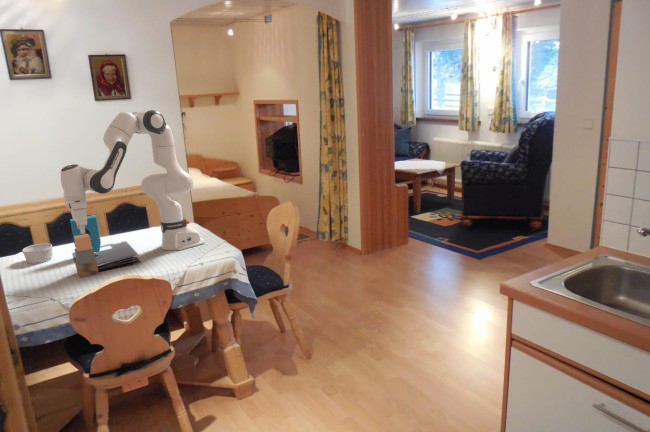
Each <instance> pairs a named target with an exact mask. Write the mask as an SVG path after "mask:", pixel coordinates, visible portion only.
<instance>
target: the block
mask: <svg viewBox="0 0 650 432" xmlns="http://www.w3.org/2000/svg"><path fill="white" fill-rule="evenodd" d="M69 221H70V227H71V231H72V233H71V234H72V238H73V243H74V248H76V245H75V239H74V236H78V235H84V234H81V233H80V229H78V228H77V225H76V222H75V220H74V219H73V218H70V219H69ZM85 230H87V231H88V232H89V233H88V234H89V236H90V239H91V245H92V248H93V249H94V252H99V251H100V252H101V244H102V240H101V235H100V234H101V233H100V230H99V223H98V218H97V215H95V214H94V215H87V225H85Z"/></svg>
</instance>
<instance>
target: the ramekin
mask: <svg viewBox="0 0 650 432" xmlns="http://www.w3.org/2000/svg"><path fill="white" fill-rule="evenodd" d="M22 254H23V255H24V258H25V261H26V262H27V263H28V264H31V265H32V264H33V265H35V264H36V265H37V264H42V263H46V262H49V261H51V260H52V258H53V244H52V243H48V242H47V243H43V242H42V243H37V244H31V245H29V246H26V247H24V248H23V249H22Z"/></svg>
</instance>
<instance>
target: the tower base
mask: <svg viewBox="0 0 650 432" xmlns="http://www.w3.org/2000/svg"><path fill="white" fill-rule="evenodd" d="M75 268H76V273H77V275H78V277H79V278H86V277H91V276H95V275H99V268H98V263H97V260H96V262H92V263H87V264H82V265H79V264H78V262H77V260H75Z"/></svg>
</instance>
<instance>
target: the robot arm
mask: <svg viewBox="0 0 650 432" xmlns="http://www.w3.org/2000/svg"><path fill="white" fill-rule="evenodd" d="M134 134H140V135H141V134H143V135H144V134H148V135H149V137H150V140H151V150H152V158H153V163H155V165H157V166H159V167H161V168H164V169H165V170H166V172H165V173H155V174H149V175H146V176H144V177H143V178H142V180H141V184H140V185H141V186H140V187H141V190H142V191H143V193H144V194H145V195H146V196H149V197H150V198H151V199H152V200H153V201H154V202H155V203H156V205H157V207H158V211H159V215H160V231H161V234H162V237H161V239H162V240H161V245H160V246H161V249H162V250H164V251H165V250H166V251H182V250H187V249H190V248H193V247H197V246H201V245H205V243H206V241H205V239H204V238H203V237H201V235H200V233H199V231H198V230H197V229H195V228H194V227H192V226H190V224H191V221H190V220H189V219H185V218H184V216H183V207H182V205H181V203H179V202H178V201H177V200H173V199H172V198H171V197H170V196H169V195H182V194H186V193H190V192H191V191H192V189H193V187H194V179H193V177H192V175H190V174H189V173H188V172H186V171H185V170H184V169H183V168H182V167H181V166H180V163H179V161H178V157H177V153H176V145H175V138H174V134H173V131H172V128H171V127H170V126H169V125H168V124H167V123H166V121H165V118H164V115H163V114H162V113H161V112H160V111H158V110H154V109H150V110H149V109H147V110H145V109H144V110H140V111H135V112H133V113H132V112H129V111H125V110H124V111H123V110H122V111H120V112H119V113H118V114H117V115H116V116H115V117H114V119H113V120H111V122H110V124H109V125H108V127H107V129H106V130H105V132H104V135H103V142H104V144H105V146H106V148H108V150H109V153H108V155H107V158H106V160H105V162H104V165H103V167H102V168H101V169H99V170H98V169H93V168H92V169H91V168H88V167H83V166H81V165H79V164H75V163H74V164H69V165H65V166H64V167H62V168H61V170H60V183H61V188H62V190H63V200H64V205H65V208H68V209H69V211H70V213H71V217H72V219H74V220H75V222H76V225H77V228H78V229H80V233H81V234H83V235H84V234H86V229H85V225H87V216H88V215H87V208H88V199H87V195H86V192H87V191H89V192H95V193H98V194H101V195H103V194H107V193H110V192H111V191H112V190H113V189H114V186H115V183H116V177H117V174H118V171H119V170H120V167H121V165H122V163H123V161H124V158H125V156H126V153H127V149H128V148H127V147H128V144H129V143H130V141H131V140H132V138H133V136H134Z"/></svg>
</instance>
